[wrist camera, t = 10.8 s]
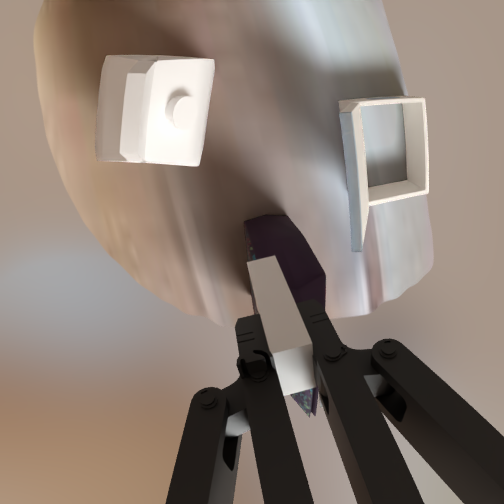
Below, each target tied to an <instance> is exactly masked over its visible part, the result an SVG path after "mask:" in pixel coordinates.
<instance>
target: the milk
mask: <svg viewBox="0 0 504 504" xmlns="http://www.w3.org/2000/svg"><path fill="white" fill-rule="evenodd" d="M214 71H215V65H214V60H213V59H206V58H195V57H181V56H163V55H106V58H105V61H104V64H103V67H102V72H101V80H100V88H99V97H98V108H97V120H96V136H95V151H96V157H97V161H114V162H137V163H154V164H169V165H182V166H199V164H200V160H201V156H202V152H203V147H204V140H205V133H206V125H207V118H208V111H209V104H210V97H211V90H212V84H213V78H214Z"/></svg>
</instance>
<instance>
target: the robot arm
mask: <svg viewBox="0 0 504 504" xmlns="http://www.w3.org/2000/svg"><path fill="white" fill-rule="evenodd" d="M247 266H248V270H249V274H250V279H251V283H252V287H253V291H254V295H255V300H256V304H257V308H258V311H259V314H255V315H251V316H247V317H243V318H239V319H238V320H237V323H236V326H235V331H236V336H237V343H238V350H239V357H238V359H237V368H238V370H239V373H240V376H239V378H238V380H237V381H235V382H234V383H233V384H231V385H230V386H228V387H226V388H224V389H222V390H220V389H219V388H215V387H208V388H204V389H202V390H200V391H198V392H197V393H196V394H195V395H194V396H193V399H192V400H191V404H190V408H189V412H188V416H187V420H186V423H185V427H184V431H183V435H182V439H181V443H180V447H179V451H178V455H177V459H176V463H175V467H174V471H173V475H172V479H171V483H170V487H169V491H168V496H167V499H166V504H233V498H234V492H235V484H236V477H237V470H238V462H239V455H240V447H241V440H242V433H244V432H246V431H248V430H250V431H251V436H252V442H253V447H254V453H255V458H256V463H257V468H258V474H259V479H260V484H261V489H262V494H263V499H264V504H314V502H313V498H312V495H311V491H310V489H309V485H308V481H307V477H306V474H305V471H304V467H303V463H302V460H301V456H300V453H299V449H298V446H297V442H296V438H295V435H294V431H293V428H292V424H291V421H290V417H289V414H288V410H287V406H286V403H285V399H284V396H285V395H289V394H293V393H297V392H301V391H304V390H308V389H311V388H315V387H316V383H317V386H318V389H319V397H320V407H323V408H324V411H325V414H326V417H327V419H328V422H329V425H330V428H331V430H332V433H333V436H334V438H335V442H336V444H337V447H338V450H339V453H340V455H341V458H342V461H343V464H344V466H345V470H346V472H347V475H348V478H349V481H350V484H351V487H352V489H353V492H354V495H355V498H356V501H357V504H424V502H423V500H422V498H421V495H420V493H419V491H418V489H417V486H416V484H415V482H414V480H413V478H412V475H411V473H410V471H409V469H408V467H407V465H406V462H405V460H404V458H403V456H402V454H401V452H400V449H399V447H398V445H397V443H396V441H395V439H394V437H393V435H392V433H391V431H390V428H389V427H388V424H387V422H386V420H385V418H384V416H383V414H384V415H385V416H386V417H387V418H388V420H389V421H390V422H391V423H392V424H393V425H394V426H395V427H396V428H397V429H398V431H399V432H400V433H401V434H402V435H403V436H404V437H405V439H406V440H407V441H408V442H409V443H410V444H411V445H412V446H413V448H414V449H415V450H416V451H417V452H418V453H419V454H420V455H421V456H422V458H423V459H424V460H425V461H426V462H427V463H428V464H429V465H430V466H431V467H432V469H433V470H434V471H435V472H436V473H437V474H438V475H439V476H440V478H441V479H442V480H443V481H444V482H445V483H446V484H447V485H448V486H449V487H450V489H451V490H452V491H453V492H454V493H455V494H456V495H457V496H458V497H459V499H460V500H461V501H462V502H463V503H464V504H504V437H503V436H502V435H501V434H500V433H499V432H498V431H497V430H496V429H495V428H494V427H493V426H492V425H491V424H490V423H489V422H488V421H487V420H486V419H484V418H483V417H482V416H481V415H480V414H479V413H478V412H477V411H476V410H475V409H474V408H473V407H472V406H470V405H469V404H468V403H467V402H466V401H465V400H464V399H463V398H462V397H461V396H460V395H459V394H457V393H456V392H455V391H454V390H453V389H452V388H451V387H450V386H449V385H448V384H447V383H445V382H444V381H443V380H442V379H441V378H440V377H439V376H437V374H435V373H434V372H433V371H432V370H431V369H430V368H429V367H428V366H427V365H425V364H424V363H423V362H422V361H421V360H420V359H419V358H417V357H416V356H415V355H414V354H413V353H412V352H411V351H410V350H409V349H407V348H406V347H405V346H404V345H403V344H402V343H400V342H399V341H397V340H394V339H383V340H381V341H378V342H377V343H375V345H373V348H372V349H365V350H355V349H351V348H349V347H347V346H346V345H344V344H343V343H342V342H341V341H340V339H339V337H338V335H337V333H336V331H335V329H334V327H333V325H332V323H331V321H330V319H329V317H328V315H327V314H326V312H325V310H324V308H323V306H322V304H321V303H319V302H318V301H316V300H315V299H311V300H307V301H303V302H300V303H295V301H294V299H293V296H292V294H291V292H290V289H289V287H288V285H287V282H286V280H285V278H284V275H283V273H282V271H281V268H280V266H279V264H278V261H277V259H276V257H275V256H271V257H267V258H262V259H258V260H254V261H250V262H247ZM382 413H383V414H382Z"/></svg>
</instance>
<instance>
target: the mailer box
mask: <svg viewBox="0 0 504 504" xmlns="http://www.w3.org/2000/svg"><path fill="white" fill-rule="evenodd" d="M338 102H339V109H340V112H341V111H343V110H344V109H345V108H346V107H347V106H348V105H349V104H350V103H355V102H360V106H369V105H382V104H396V103H402V106H403V117H404V128H405V143H406V163H407V180H404V181H399V182H394V183H389V184H384V185H378V186H373V187H368V198H369V206H372V205H377V204H381V203H386V202H390V201H395V200H399V199H404V198H409V197H413V196H418V195H423V194H427V193H428V192H429V162H428V161H429V160H428V159H429V158H428V134H427V118H426V105H425V98H421V97H413V96H387V97H372V98H359V99H348V100H339V101H338Z"/></svg>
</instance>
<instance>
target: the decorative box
mask: <svg viewBox="0 0 504 504" xmlns="http://www.w3.org/2000/svg"><path fill="white" fill-rule="evenodd" d="M244 228H245V238H246V247H247V257H248V262H250V261H254V260H258V259H262V258H267V257H271V256H275V257H276V259H277V261H278V264H279V266H280V268H281V271H282V273H283V275H284V278H285V280H286V282H287V285H288V287H289V289H290V292H291V294H292V296H293V299H294V301H295V303H300V302H303V301H307V300H311V299H315V300H316V301H318V302H319V303H321V304H322V306H323V308H324V310H325V298H326V275H325V272H324V270H323V269H322V267H321V265H320V263H319V262H318V260H317V258H316V256H315V255H314V253H313V251H312V249H311V248H310V246H309V244H308V243H307V241H306V239H305V238H304V236H303V234H302V233H301V232H300V231H299V229H298V228H297V227H296V226H295V224H294V223H293V222H292V221H291V220H290V218H289V217H288V216H279V215H264V216H261V217H257V218H254V219H251V220H248V221H244ZM249 277H250V274H249ZM250 287H251V296H252V303H253V309H254V315H255V314H259V311H258V308H257V304H256V300H255V295H254V291H253V287H252V283H251V279H250ZM318 392H319V389H318V386H317V383H316V387H315V388H311V389H308V390H304V391H301V392H297V393H293V394H290V395H291V396H292V398H293V399H294V400H295V401H296V402H297V403H298V405H299V406H300V407H301V408H302V409H303V410H304V412H305V413H306V414H307V415H308V416H309V417H310V413H311V412H312V413H313V414H314V416H315V415H316V408H317V399H318Z"/></svg>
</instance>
